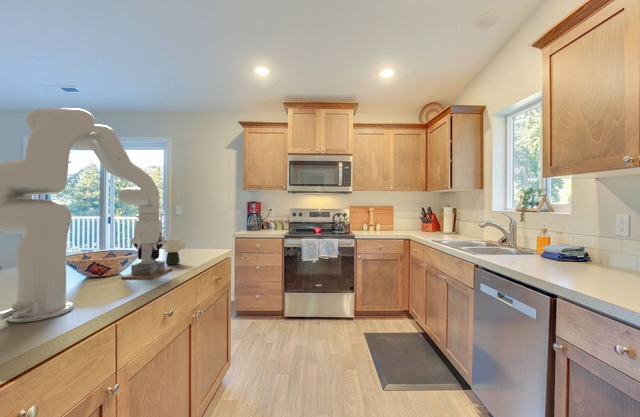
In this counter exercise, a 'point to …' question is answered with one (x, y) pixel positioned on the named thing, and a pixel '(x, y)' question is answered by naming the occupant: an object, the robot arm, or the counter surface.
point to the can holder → (147, 271)
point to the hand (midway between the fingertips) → (148, 258)
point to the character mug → (173, 250)
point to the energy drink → (147, 254)
